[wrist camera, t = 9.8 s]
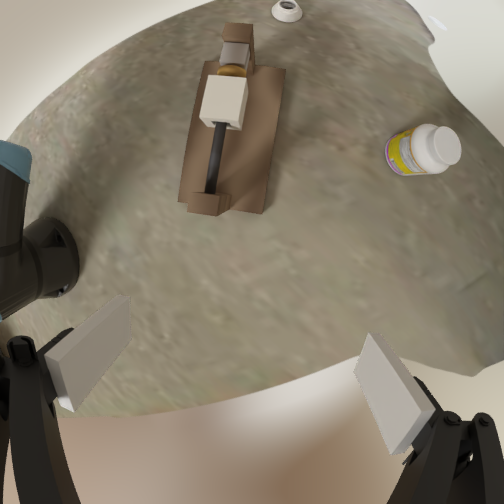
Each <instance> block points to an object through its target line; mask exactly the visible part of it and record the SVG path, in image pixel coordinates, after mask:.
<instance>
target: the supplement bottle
mask: <svg viewBox="0 0 504 504" xmlns="http://www.w3.org/2000/svg"><path fill="white" fill-rule="evenodd" d="M385 155H386V159H387V162H388V164H389V166H390V167H391V168H392V169H393V170H394V171H395V172H396V173H398V174H400V175H405V176H407V175H420V174H438V173H442V172H444V171H445V170H446V169H447V168H448V167H449V165H452V164H455V163H457V162H458V161H459V159H460V157H461V144H460V141H459V138H458V136H457V135H456V133H455V132H454V131H453V130H452V129H450V128H449V127H446V126H442V127H437V126H435V125H433V124H423V125H420V126H417V127H415V128H412V129H409V130H407V131H404V132H402V133H399V134H396V135H394V136H393V137H391V138H390V139H389V140H388V142H387V144H386V147H385Z"/></svg>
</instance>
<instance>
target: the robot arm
mask: <svg viewBox="0 0 504 504" xmlns="http://www.w3.org/2000/svg"><path fill="white" fill-rule="evenodd" d="M31 164H32V155H31V152H30V151H29V150H28V149H27V148H25V147H23V146H20V145H16V144H13V143H10V142H6V141H3V140H0V322H1V321H2V320H4V319H5V318H7V317H9V316H10V315H12V314H13V313H15V312H17V311H18V310H20V309H21V308H23V307H25V306H26V305H28V304H29V303H31V302H33V301H34V300H36V299H46V298H57V297H60V296H62V295H64V294H66V293H68V292H69V291H70V290H71V289H72V288H73V287H74V285H75V283H76V281H77V278H78V273H79V257H78V251H77V248H76V244H75V242H74V239H73V237H72V235H71V233H70V232H69V230H68V229H67V228H66V226H65V225H64V224H63V223H61V222H60V221H59V220H57V219H55V218H50V217H47V218H42V219H38V220H36V221H34V222H32V223H31V224H30V225H28V226H27V227H26V228H25V229H23V226H24V215H25V207H26V199H27V192H28V186H29V184H30V179H29V178H30V170H31ZM131 340H132V334H131V311H130V297H129V296H124V295H120V294H118V295H116V296H115V297H114V298H113V299H111V300H110V301H109V302H107V303H106V304H105V305H104V306H102V307H101V308H100V309H99V310H97V311H96V312H95V313H94V314H92V315H91V316H90V317H89V318H87V319H86V320H85V321H84V322H82V323H81V324H80V325H79V326H78V327H76V328H75V329H74V328H72V327H71V328H69V329H66V330H64V331H62V332H61V333H59V334H58V335H57V336H56V337H54V338H53V339H52V340H51V341H49V342H48V343H47V344H46V345H45V346H43V347H42V348H41V349H40V350H39V351H37V352H36V349H35V345H34V341H33V339H31V338H30V337H28V336H16V337H13V338H11V339H10V340H9V341H8V342H7V349H8V352H9V355H10V358H8V357H4V356H3V355H2V352H1V348H0V504H3V485H4V473H5V464H6V457H7V450H8V444H9V439H10V443H11V455H12V463H13V470H14V476H15V482H16V487H17V492H18V496H19V501H20V504H81V502H80V500H79V497H78V495H77V492H76V489H75V486H74V483H73V481H72V477H71V474H70V471H69V468H68V464H67V461H66V457H65V453H64V450H63V445H62V441H61V437H60V432H59V428H58V422H57V417H56V411H55V406H54V403H53V400H54V399H55V398H56V397H58V400H59V402H60V405H61V406H62V407H64V408H66V409H68V410H70V411H72V412H75V411H76V410H77V409H78V407H79V406H80V405H81V403H82V402H83V401H84V399H85V398H86V397H87V395H88V394H89V393H90V391H91V390H92V389H93V388H94V386H95V385H96V384H97V382H98V381H99V380H100V379H101V377H102V376H103V375H104V374H105V372H106V371H107V370H108V368H109V367H110V366H111V365H112V363H113V362H114V361H115V360H116V358H117V357H118V356H119V355H120V353H121V352H122V351H123V350H124V348H125V347H126V346H127V345H128V344H129V342H130V341H131ZM354 374H355V376H356V378H357V380H358V382H359V384H360V387H361V389H362V391H363V393H364V395H365V398H366V400H367V402H368V404H369V407H370V409H371V411H372V413H373V415H374V418H375V420H376V422H377V425H378V427H379V429H380V432H381V434H382V436H383V439H384V441H385V443H386V446H387V448H388V450H389V453H390V455H395V454H400V453H404V452H405V451H406V450H407V449H408V448H409V446H410V445H411V444H412V446H413V448H414V450H413V451H412V453H411V454H410V455H409V456H408V457H407V458H406V460H405V461H404V462H403V463H402V464H403V465H404V464H405V463H406V462H407V463H406V465H405V468H404V470H403V472H402V474H401V476H400V479H399V481H398V483H397V485H396V487H395V489H394V491H393V493H392V495H391V496H390V499H389V500H388V502H387V504H504V459H503V454H502V449H501V445H500V441H499V437H498V433H497V430H496V426H495V423H494V421H493V419H492V418H491V417H490V416H489V415H488V414H486V413H477V414H476V415H475V416H474V418H473V419H472V421H462V420H461V418H460V417H459V416H458V415H457V414H456V413H454V412H451V411H443V409H442V408H441V406H440V405H439V404H438V402H437V401H436V399H435V398H434V397H433V395H431V393H430V391H429V390H427V387H426V386H425V384H424V383H423V382H422V381H421V380H419V379H418V378H417V377H415V376H414V377H413V376H412V375H411V373H410V372H409V371H408V370H407V368H406V367H405V365H404V364H403V363H402V361H401V360H400V359H399V357H398V356H397V355H396V353H395V352H394V351H393V349H392V348H391V347H390V345H389V344H388V343H387V341H386V340H385V339H384V337H383V336H382V335H381V334H380V333H375V332H368V335H367V338H366V340H365V343H364V346H363V349H362V351H361V354H360V357H359V359H358V362H357V365H356V367H355V369H354ZM472 454H473V458H472V460H471V461H470V456H471V455H472Z"/></svg>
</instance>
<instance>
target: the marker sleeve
mask: <svg viewBox="0 0 504 504" xmlns="http://www.w3.org/2000/svg"><path fill="white" fill-rule="evenodd" d="M247 97H248V86H247V78H242V77H232V76H219V75H208V79H207V83H206V88H205V92H204V96H203V101H202V106H201V111H200V115H199V118H200V119H201V120H202V121H203V122H204V123H205V125H206V126H207V127H215V126H216V121H218V122H227V127H226V129H233V130H241V129H242V124H243V118H244V113H245V107H246V102H247Z"/></svg>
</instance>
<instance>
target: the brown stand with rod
mask: <svg viewBox="0 0 504 504" xmlns="http://www.w3.org/2000/svg"><path fill="white" fill-rule="evenodd" d="M222 37H223V40H224V45H223V48H222V52H221V56H220V60H219V62H217V61H205V63H204V67H203V71H202V75H201V79H200V83H199V87H198V91H197V96H196V100H195V105H194V109H193V114H192V119H191V124H190V129H189V134H188V140H187V145H186V151H185V157H184V163H183V169H182V175H181V182H180V189H179V196H178V202H183V203H188V208H187V212H190V213H197V214H204V215H211V216H218V215H220V214H222V213H224V212H225V211H227V210H229V209H231V210H238V211H244V212H250V213H256V214H262V212H263V206H264V200H265V194H266V188H267V182H268V176H269V170H270V164H271V158H272V152H273V145H274V139H275V133H276V127H277V121H278V115H279V109H280V103H281V96H282V90H283V84H284V78H285V72H286V69H281V68H275V67H268V66H261V65H255V55H254V37H253V24H243V23H225V26H224V30H223V34H222ZM208 75H219V76H232V77H242V78H247V86H248V97H247V102H246V107H245V113H244V118H243V124H242V129H241V130H233V129H226V127H227V122H218V121H216V126H215V127H207V126H206V125H205V123H204V122H203V121H202V120H201V119H200V118H199V115H200V111H201V106H202V101H203V96H204V92H205V88H206V83H207V79H208Z"/></svg>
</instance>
